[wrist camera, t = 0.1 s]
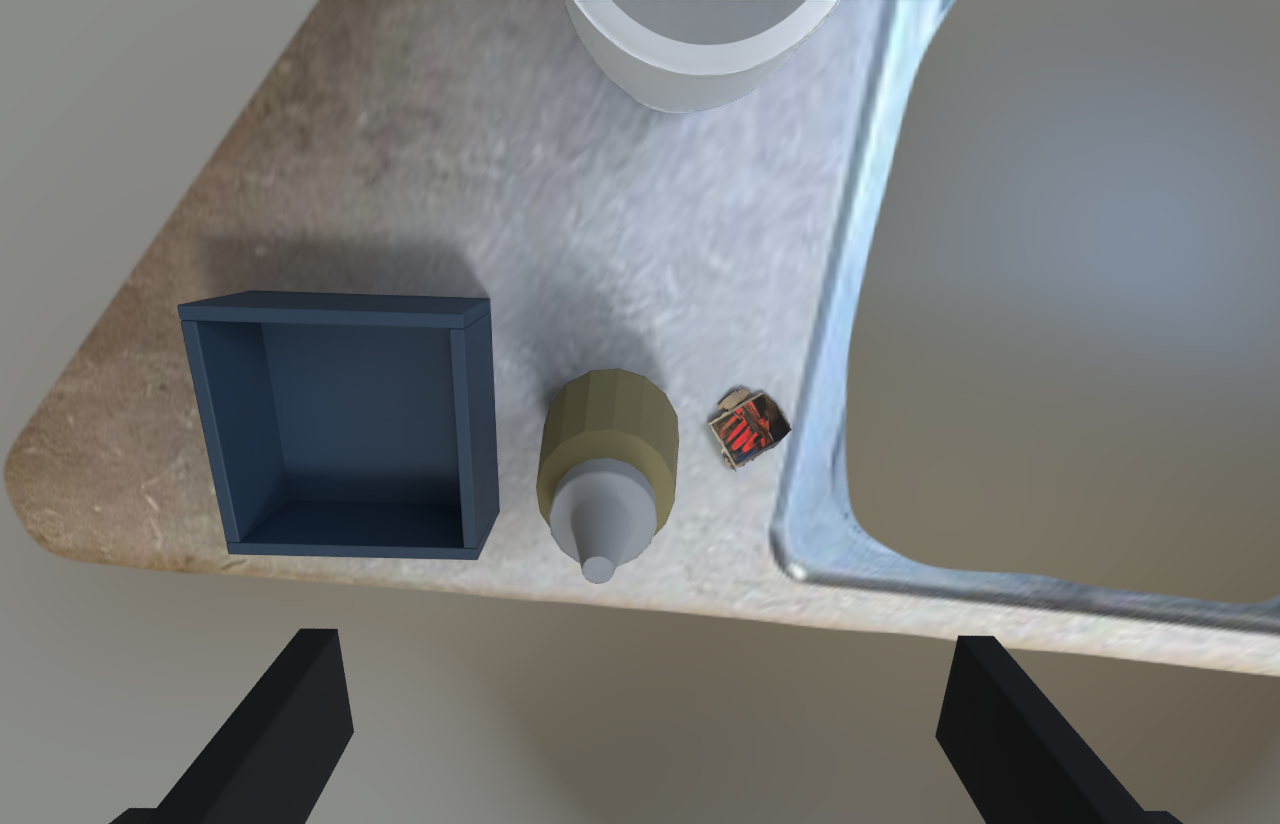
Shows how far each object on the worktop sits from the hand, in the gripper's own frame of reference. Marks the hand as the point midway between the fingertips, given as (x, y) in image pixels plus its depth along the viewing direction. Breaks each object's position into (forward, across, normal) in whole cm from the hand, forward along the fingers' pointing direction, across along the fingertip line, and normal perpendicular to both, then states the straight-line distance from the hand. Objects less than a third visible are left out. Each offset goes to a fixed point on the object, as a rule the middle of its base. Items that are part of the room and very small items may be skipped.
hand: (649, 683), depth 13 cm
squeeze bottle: (+27, -2, -3) cm, 27 cm away
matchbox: (+27, +7, -3) cm, 28 cm away
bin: (+27, -16, -3) cm, 32 cm away
